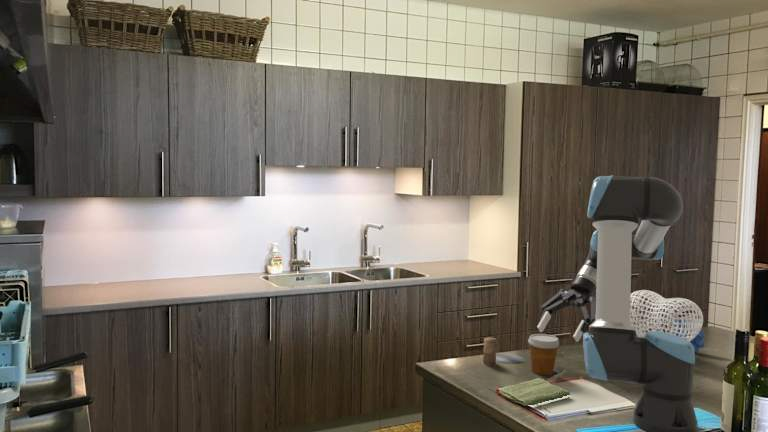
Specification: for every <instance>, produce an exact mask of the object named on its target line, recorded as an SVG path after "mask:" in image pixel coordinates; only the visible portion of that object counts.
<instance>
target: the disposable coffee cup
mask: <svg viewBox="0 0 768 432" xmlns="http://www.w3.org/2000/svg"><path fill="white" fill-rule="evenodd" d="M527 340H528V341H527V342H528V344H529V355H530V366H531V367H530V368H531V372H533V373H534V374H536V375H542V376H543V375H544V376H545V375H547V376H548V375H551V376H549V377H547V379H551V378H552V377H553V374H554V370H555V364H556V359H557V358H556V357H557V352H558V347H559V345H560V341H559V337H557V336H554V335H551V334H546V333H544V334H543V333H534V334H531V335H529V338H528V339H527Z"/></svg>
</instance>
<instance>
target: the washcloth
mask: <svg viewBox="0 0 768 432" xmlns="http://www.w3.org/2000/svg"><path fill="white" fill-rule="evenodd" d="M497 394H498V395H499V396H501V397H504V398H506V399H509V400H510V401H512V402H515V403H518V404H521V405H523V406H524V407H527V406H528V405H535V404H538V403H542V402H545V401H549V400H554V399H557V398H562V397H563V396H567V395H571V393H570V391H569V390H568V389H565V388H563V387H560V386H558V385H556V384H552V383H550V382H549V381H547V380H545V379H543V378H540V377H537V378H534V379H531V380H525V381H524V382H523V381H522V382H519V383H516V384H513V385H512V384H511V385H506V386H504V387H502V388H500V389H499V390H497Z"/></svg>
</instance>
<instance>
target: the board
mask: <svg viewBox="0 0 768 432" xmlns="http://www.w3.org/2000/svg"><path fill="white" fill-rule="evenodd" d="M526 360H527V359H526V358H525V357H523V356H521V355H518V354H513V353H496V364H495V365H485V364H483V361H481V364H482V365H483V366H487V367H495V366H497V365H498V363H501V364H506V365H519V364H520V365H521V364H523V363H526Z"/></svg>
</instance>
